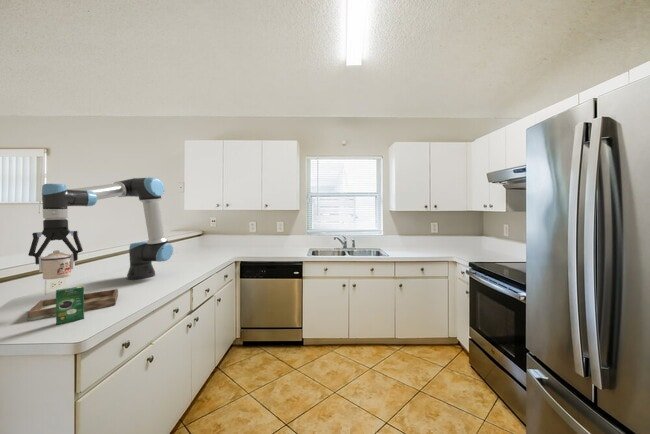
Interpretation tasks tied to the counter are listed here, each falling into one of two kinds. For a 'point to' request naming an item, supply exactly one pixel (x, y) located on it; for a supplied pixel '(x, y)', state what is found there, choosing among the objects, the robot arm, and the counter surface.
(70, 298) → the coffee box
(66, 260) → the teacup with lid
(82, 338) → the counter surface
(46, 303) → the wooden tray
